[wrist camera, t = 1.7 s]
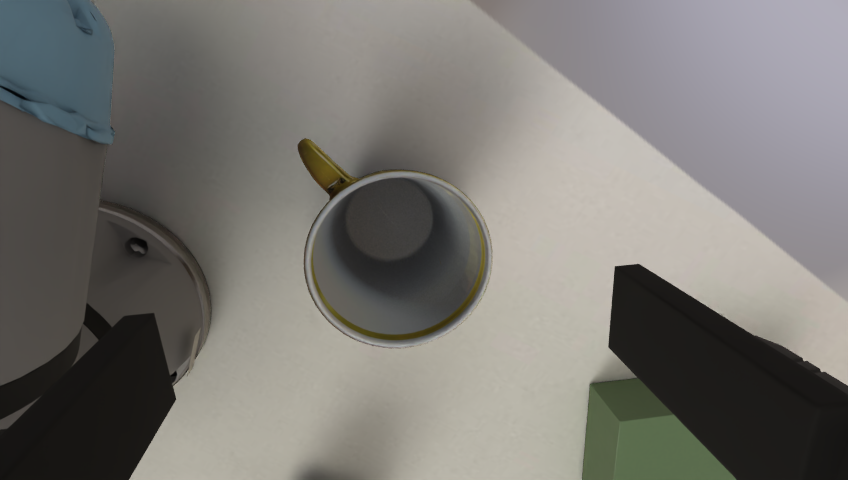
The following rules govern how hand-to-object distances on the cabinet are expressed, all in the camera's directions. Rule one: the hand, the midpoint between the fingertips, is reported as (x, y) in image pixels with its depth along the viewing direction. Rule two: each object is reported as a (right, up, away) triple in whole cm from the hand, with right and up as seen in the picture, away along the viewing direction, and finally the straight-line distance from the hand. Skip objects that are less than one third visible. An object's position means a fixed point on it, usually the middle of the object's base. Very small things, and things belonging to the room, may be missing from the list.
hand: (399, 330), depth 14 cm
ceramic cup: (-3, +5, +20) cm, 21 cm away
